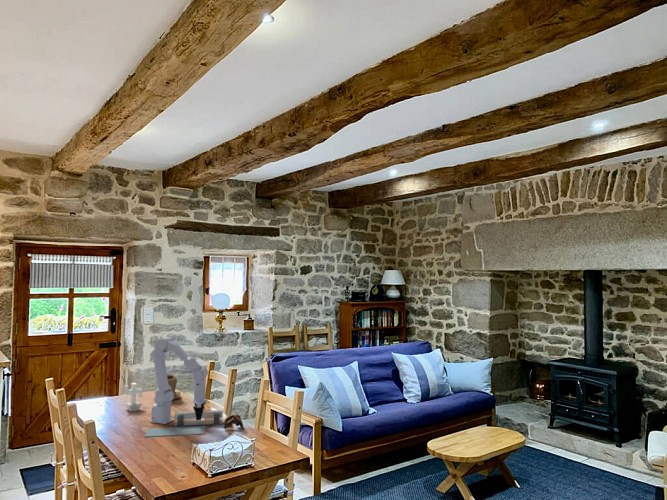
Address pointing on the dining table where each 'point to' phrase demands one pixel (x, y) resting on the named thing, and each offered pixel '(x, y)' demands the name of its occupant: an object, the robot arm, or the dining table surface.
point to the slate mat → (175, 431)
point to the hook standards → (198, 422)
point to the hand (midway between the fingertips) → (198, 417)
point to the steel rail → (193, 416)
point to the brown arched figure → (233, 422)
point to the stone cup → (173, 385)
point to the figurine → (133, 397)
